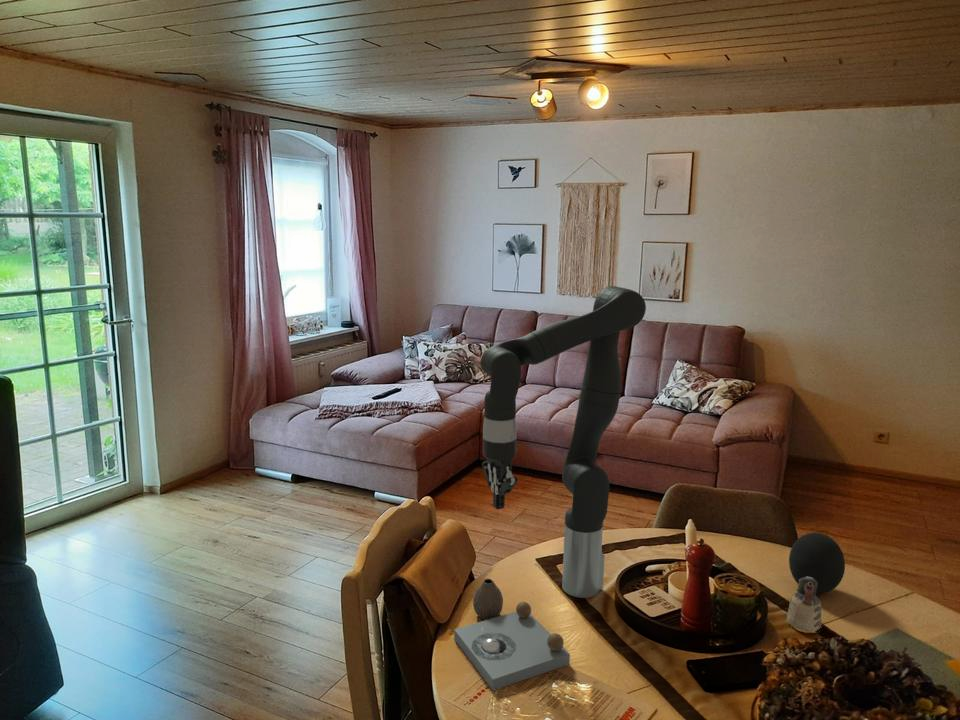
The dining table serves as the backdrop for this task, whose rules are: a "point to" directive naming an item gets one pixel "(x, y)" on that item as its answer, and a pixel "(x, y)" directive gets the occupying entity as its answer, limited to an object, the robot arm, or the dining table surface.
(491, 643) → the steel ball
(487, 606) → the vase
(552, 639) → the walnut ball
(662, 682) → the dining table surface
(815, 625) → the figurine
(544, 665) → the hole plate
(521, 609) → the walnut ball
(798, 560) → the decorative egg
